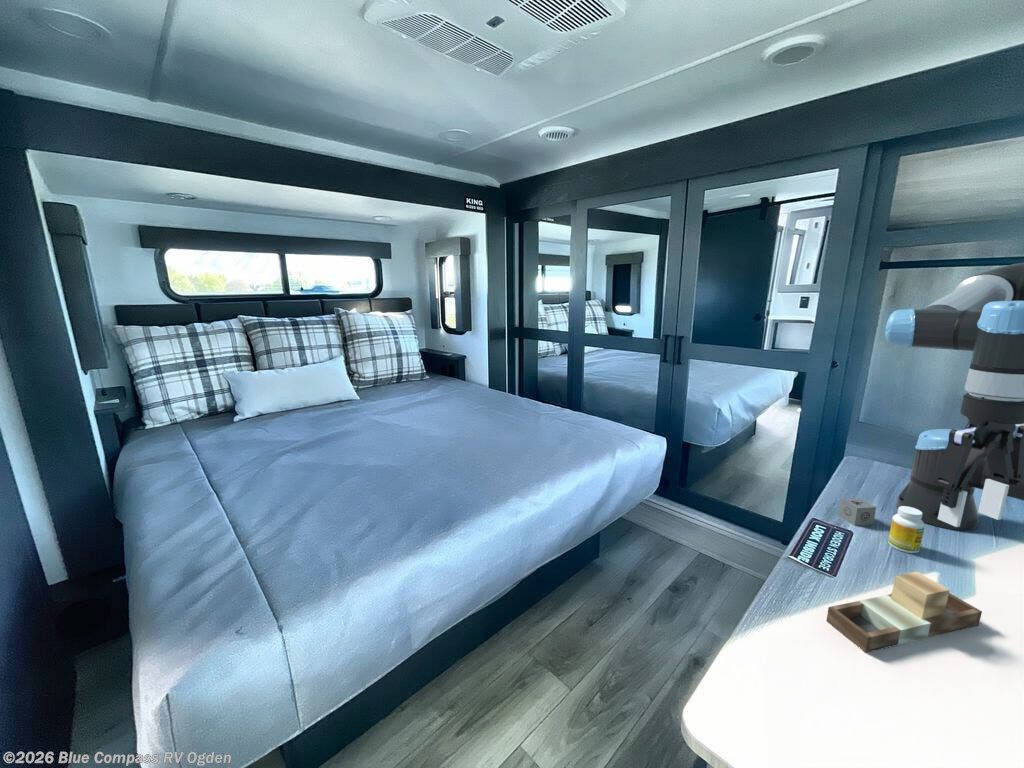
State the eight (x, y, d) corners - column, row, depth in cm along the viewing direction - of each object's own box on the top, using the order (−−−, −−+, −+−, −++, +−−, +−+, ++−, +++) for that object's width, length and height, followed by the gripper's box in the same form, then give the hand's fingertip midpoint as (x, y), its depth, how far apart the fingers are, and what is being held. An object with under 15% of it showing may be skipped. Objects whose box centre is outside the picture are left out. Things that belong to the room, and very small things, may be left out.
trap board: (932, 598, 80) (935, 584, 79) (978, 625, 73) (982, 611, 73) (826, 621, 75) (828, 607, 75) (865, 652, 69) (868, 637, 68)
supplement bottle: (890, 537, 99) (897, 501, 97) (921, 547, 95) (928, 510, 93) (885, 546, 96) (892, 509, 94) (916, 557, 92) (924, 519, 90)
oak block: (912, 594, 77) (916, 571, 76) (944, 614, 72) (949, 589, 71) (890, 599, 76) (895, 575, 75) (921, 619, 71) (927, 594, 70)
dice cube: (838, 515, 110) (841, 498, 109) (856, 514, 110) (859, 497, 109) (854, 525, 105) (857, 508, 104) (873, 524, 105) (876, 507, 104)
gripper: (977, 406, 62) (947, 539, 67) (1079, 396, 66) (1044, 522, 71) (919, 395, 69) (897, 516, 74) (1014, 386, 73) (987, 501, 78)
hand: (969, 519), depth 72 cm, fingers open, 9 cm apart
